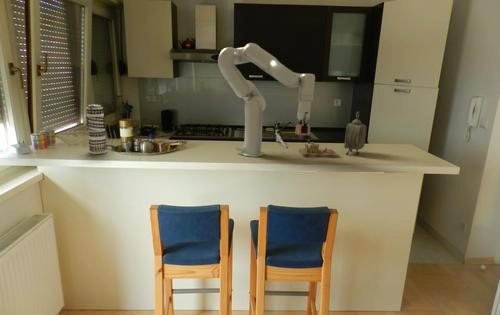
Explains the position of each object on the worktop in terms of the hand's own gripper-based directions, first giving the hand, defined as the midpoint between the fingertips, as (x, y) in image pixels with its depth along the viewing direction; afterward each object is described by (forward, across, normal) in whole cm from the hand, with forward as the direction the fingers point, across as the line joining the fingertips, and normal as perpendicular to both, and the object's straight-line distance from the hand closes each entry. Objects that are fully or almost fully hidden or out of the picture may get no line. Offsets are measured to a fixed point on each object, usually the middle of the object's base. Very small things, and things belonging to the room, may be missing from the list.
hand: (302, 131), depth 174 cm
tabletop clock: (+14, -14, +35) cm, 40 cm away
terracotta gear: (+1, 0, 0) cm, 1 cm away
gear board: (+15, -11, +13) cm, 22 cm away
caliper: (+15, -35, -5) cm, 38 cm away
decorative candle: (+17, -4, -108) cm, 110 cm away
